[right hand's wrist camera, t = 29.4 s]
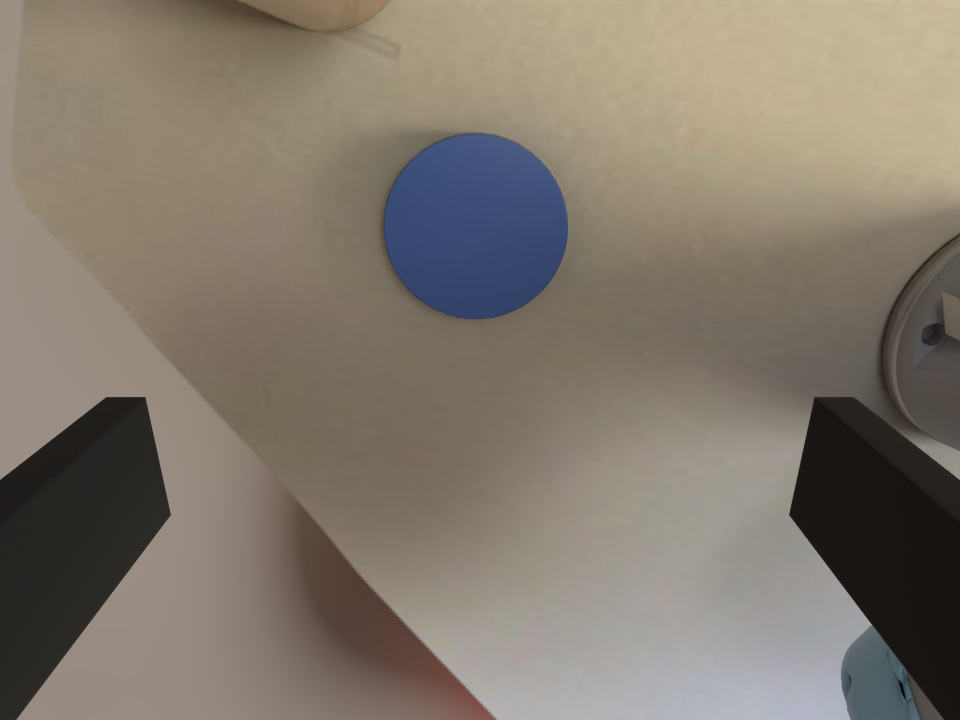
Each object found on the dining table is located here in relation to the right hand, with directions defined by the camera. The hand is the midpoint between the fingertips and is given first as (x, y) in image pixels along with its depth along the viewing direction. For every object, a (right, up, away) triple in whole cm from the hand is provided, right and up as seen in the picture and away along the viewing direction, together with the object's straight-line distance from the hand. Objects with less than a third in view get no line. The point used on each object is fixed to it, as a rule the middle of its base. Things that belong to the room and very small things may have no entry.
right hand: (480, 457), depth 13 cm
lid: (0, +9, +22) cm, 24 cm away
